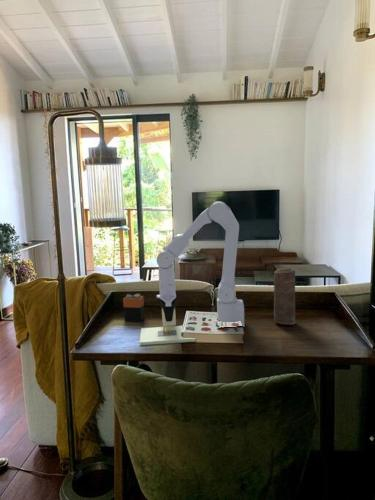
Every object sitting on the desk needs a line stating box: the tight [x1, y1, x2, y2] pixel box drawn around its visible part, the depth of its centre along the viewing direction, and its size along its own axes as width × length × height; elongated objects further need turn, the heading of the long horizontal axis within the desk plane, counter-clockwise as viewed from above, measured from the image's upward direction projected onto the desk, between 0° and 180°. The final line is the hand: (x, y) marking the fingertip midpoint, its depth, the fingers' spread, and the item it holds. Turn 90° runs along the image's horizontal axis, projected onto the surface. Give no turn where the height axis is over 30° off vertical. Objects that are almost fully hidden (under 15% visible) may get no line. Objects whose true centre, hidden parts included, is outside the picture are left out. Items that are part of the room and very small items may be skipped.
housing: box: [161, 307, 177, 327], centre depth 142 cm, size 5×3×6 cm
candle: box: [273, 267, 296, 326], centre depth 136 cm, size 8×7×20 cm
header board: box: [139, 325, 196, 346], centre depth 131 cm, size 18×12×4 cm, turn 94°
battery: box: [122, 293, 146, 323], centre depth 147 cm, size 4×7×10 cm, turn 76°
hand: (168, 319), depth 142 cm, fingers closed on housing, 3 cm apart
